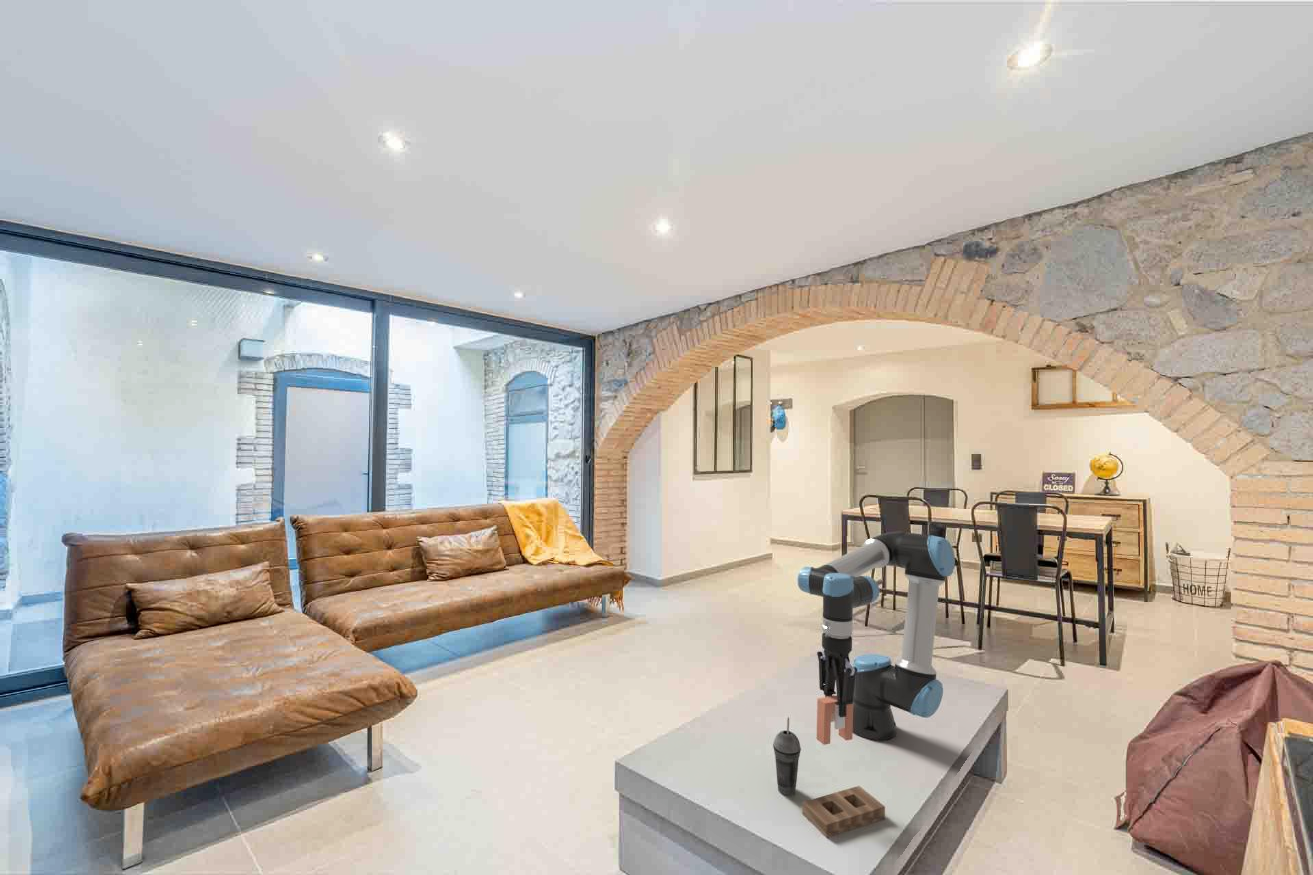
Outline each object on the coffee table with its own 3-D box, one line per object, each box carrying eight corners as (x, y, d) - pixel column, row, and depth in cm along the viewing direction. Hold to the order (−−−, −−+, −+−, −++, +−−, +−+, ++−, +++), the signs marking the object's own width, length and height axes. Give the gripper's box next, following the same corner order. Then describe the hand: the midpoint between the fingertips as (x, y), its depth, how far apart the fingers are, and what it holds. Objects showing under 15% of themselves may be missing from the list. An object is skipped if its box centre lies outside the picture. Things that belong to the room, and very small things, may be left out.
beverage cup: (796, 781, 155) (796, 708, 155) (804, 798, 148) (804, 722, 148) (769, 782, 155) (770, 709, 155) (776, 799, 148) (777, 722, 148)
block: (844, 733, 151) (845, 693, 151) (852, 739, 148) (853, 698, 148) (816, 738, 148) (817, 698, 148) (823, 744, 145) (824, 703, 145)
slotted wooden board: (859, 797, 149) (859, 785, 149) (884, 818, 140) (884, 806, 140) (802, 813, 142) (802, 801, 142) (826, 837, 134) (826, 824, 134)
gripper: (806, 625, 154) (804, 712, 154) (845, 645, 139) (843, 742, 139) (829, 623, 157) (827, 708, 157) (870, 642, 142) (868, 737, 142)
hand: (835, 724), depth 148 cm, fingers closed on block, 3 cm apart
